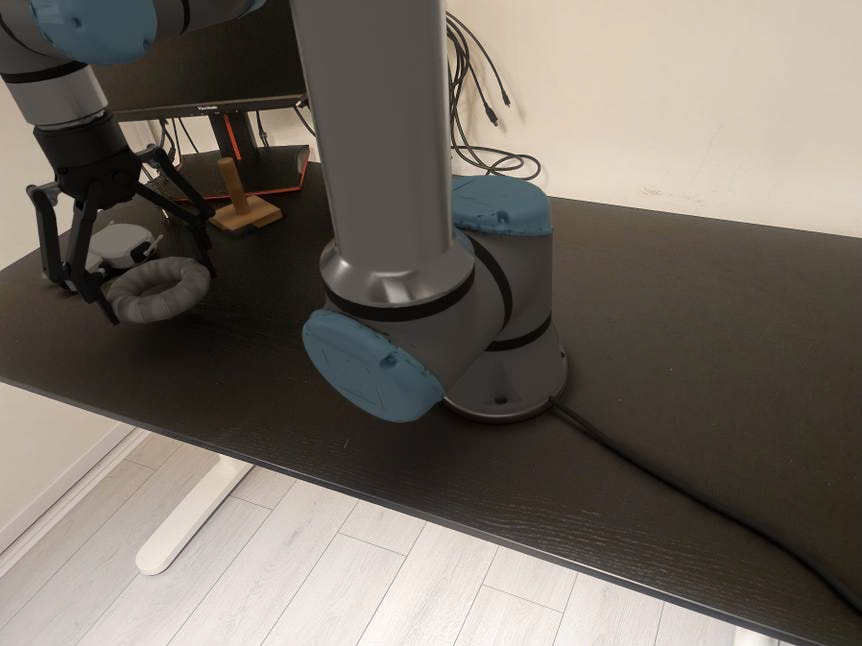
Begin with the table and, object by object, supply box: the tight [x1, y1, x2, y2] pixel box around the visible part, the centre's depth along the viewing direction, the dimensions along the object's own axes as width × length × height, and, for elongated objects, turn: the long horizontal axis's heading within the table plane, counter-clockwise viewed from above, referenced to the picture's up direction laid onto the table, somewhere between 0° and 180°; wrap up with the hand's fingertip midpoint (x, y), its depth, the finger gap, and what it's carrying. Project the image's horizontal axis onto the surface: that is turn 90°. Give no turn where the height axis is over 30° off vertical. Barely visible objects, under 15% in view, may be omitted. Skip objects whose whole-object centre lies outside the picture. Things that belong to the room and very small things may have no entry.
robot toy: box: [41, 220, 164, 292], centre depth 93 cm, size 12×4×15 cm
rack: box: [208, 156, 283, 231], centre depth 101 cm, size 9×9×10 cm
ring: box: [105, 256, 211, 324], centre depth 74 cm, size 12×12×3 cm
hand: (163, 296), depth 75 cm, fingers closed on ring, 12 cm apart
